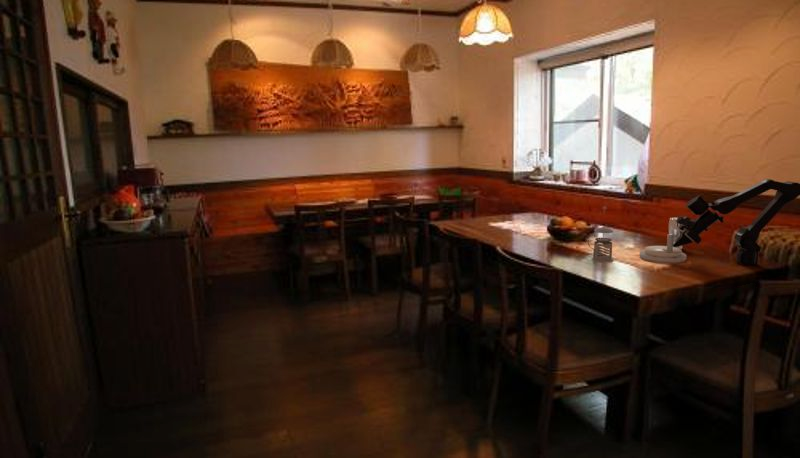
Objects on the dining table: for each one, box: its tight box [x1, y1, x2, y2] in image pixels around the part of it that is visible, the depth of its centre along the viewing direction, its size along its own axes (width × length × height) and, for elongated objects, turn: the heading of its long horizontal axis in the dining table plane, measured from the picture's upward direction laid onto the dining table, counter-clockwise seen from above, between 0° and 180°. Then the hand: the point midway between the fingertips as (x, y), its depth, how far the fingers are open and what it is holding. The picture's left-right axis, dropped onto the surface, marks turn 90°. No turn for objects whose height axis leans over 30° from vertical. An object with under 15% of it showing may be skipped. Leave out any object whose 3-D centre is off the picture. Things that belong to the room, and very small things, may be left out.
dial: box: [644, 233, 683, 257], centre depth 223 cm, size 15×15×10 cm
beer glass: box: [668, 216, 683, 250], centre depth 241 cm, size 7×7×15 cm
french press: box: [587, 206, 615, 263], centre depth 224 cm, size 10×12×25 cm
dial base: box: [639, 249, 687, 264], centre depth 224 cm, size 19×19×2 cm
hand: (673, 246), depth 217 cm, fingers closed, pressing on dial
